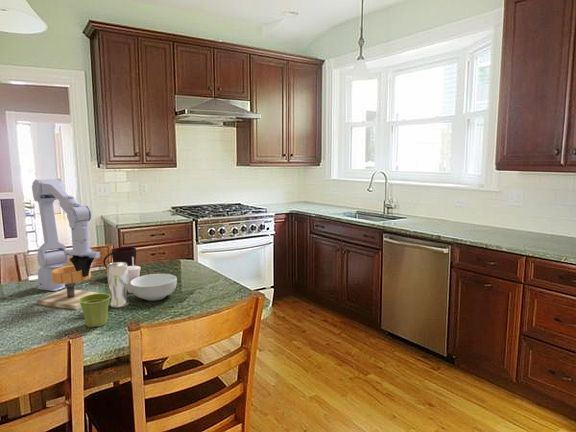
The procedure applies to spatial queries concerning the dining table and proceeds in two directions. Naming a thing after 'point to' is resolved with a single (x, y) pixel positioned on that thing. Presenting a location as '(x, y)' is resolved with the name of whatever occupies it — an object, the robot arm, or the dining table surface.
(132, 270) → the smoothie
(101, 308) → the plant pot
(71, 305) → the peg board
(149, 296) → the cereal bowl
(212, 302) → the dining table surface
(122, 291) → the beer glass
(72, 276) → the faceted orange ring
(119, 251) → the cup
